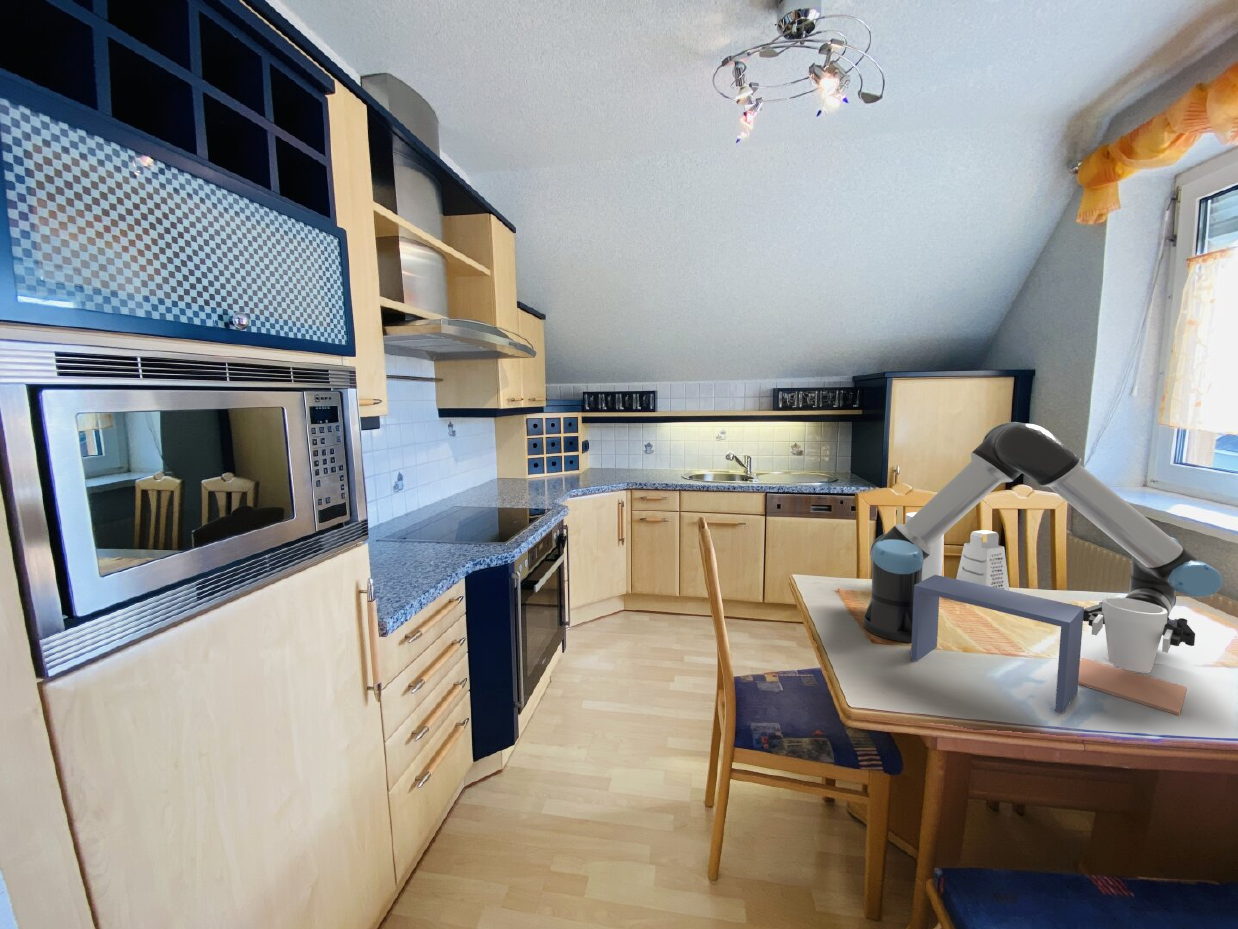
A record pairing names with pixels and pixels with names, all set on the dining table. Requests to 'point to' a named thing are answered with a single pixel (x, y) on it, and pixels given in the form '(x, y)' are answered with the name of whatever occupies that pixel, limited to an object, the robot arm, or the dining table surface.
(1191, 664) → the dining table surface
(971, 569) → the grater
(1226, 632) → the dining table surface
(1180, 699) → the mat
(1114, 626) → the foam cup
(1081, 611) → the rectangular arch
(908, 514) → the tall pillar cylinder
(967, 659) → the dining table surface
